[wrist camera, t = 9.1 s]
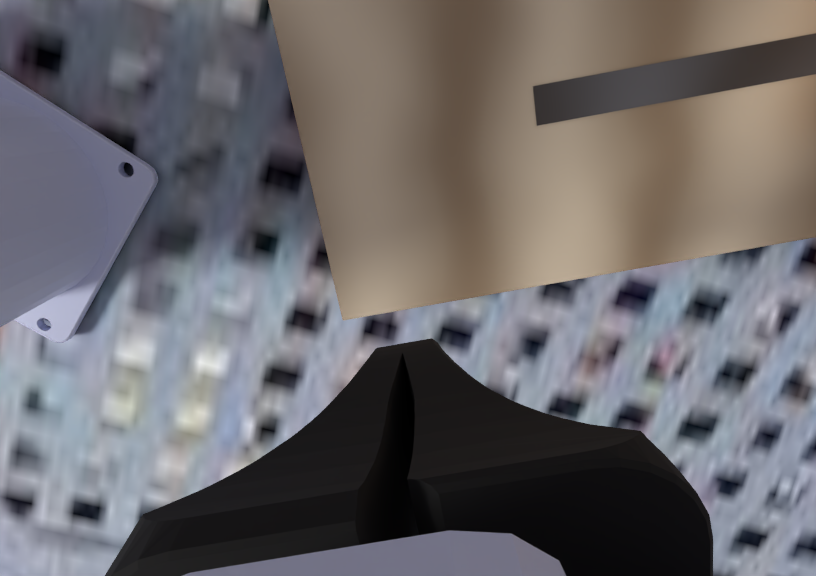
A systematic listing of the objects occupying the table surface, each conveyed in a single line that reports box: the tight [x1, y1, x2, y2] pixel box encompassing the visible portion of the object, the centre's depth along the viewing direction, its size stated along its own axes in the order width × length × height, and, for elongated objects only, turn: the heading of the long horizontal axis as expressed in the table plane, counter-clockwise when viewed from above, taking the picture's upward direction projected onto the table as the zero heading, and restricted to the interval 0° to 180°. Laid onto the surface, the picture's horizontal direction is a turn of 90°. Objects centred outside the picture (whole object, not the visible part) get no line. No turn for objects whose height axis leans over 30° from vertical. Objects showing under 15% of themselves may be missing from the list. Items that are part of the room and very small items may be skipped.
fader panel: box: [268, 0, 816, 320], centre depth 18 cm, size 22×12×2 cm, turn 100°
